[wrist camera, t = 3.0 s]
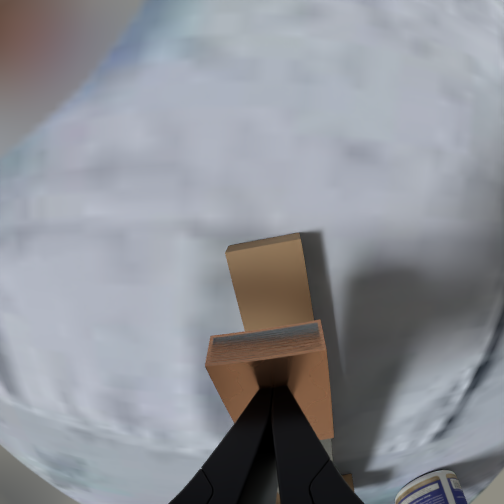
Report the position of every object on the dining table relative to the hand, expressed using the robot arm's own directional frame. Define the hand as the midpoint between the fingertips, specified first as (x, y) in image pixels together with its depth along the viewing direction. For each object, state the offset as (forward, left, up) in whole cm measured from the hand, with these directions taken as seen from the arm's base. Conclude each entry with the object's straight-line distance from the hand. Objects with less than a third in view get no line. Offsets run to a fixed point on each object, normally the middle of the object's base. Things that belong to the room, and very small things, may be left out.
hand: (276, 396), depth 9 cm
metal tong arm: (-7, 0, -3) cm, 8 cm away
